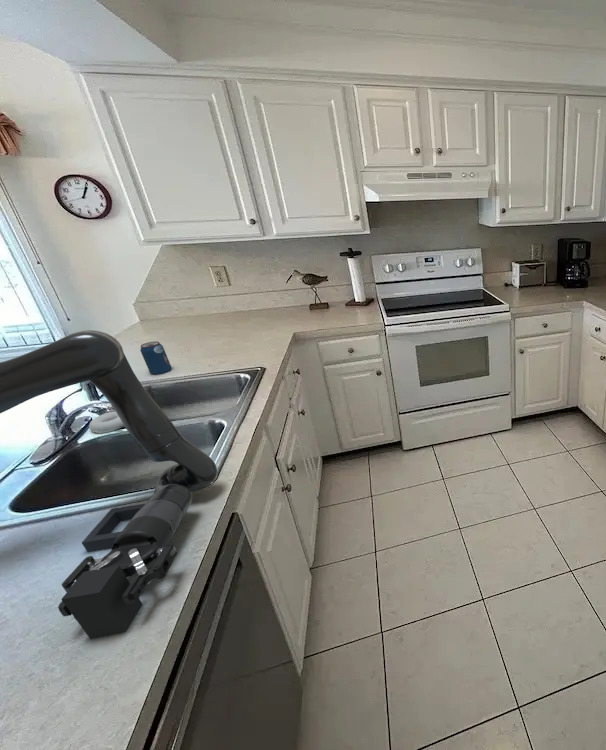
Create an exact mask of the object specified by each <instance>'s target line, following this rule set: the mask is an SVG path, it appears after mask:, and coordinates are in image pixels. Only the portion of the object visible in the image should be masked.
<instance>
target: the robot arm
mask: <svg viewBox="0 0 606 750" xmlns="http://www.w3.org/2000/svg"><path fill="white" fill-rule="evenodd" d="M85 382H90V384H92V385H93V386H94V387H95V388H96V389H97V390H98V391H99V392H100V393H101V394H102V395H103V397H104V398H106V400H107V401H108V403H109V404H110V405H111V406H112V408H113V410H114V411H116V413H117V414H118V416H119V418H120V419H121V421H122V423H123V424H124V428H125V429H126V431H127V432H128V434H129V435H130V436H131V438H132V439H133V441H134V442H135V443H136V444H137V445H138V447H139V448H140V449H141V450H142V451H143V453H145V455H146V456H147V457H148V458H149V460H151V461H152V462H154V463H162V462H175V464H174V465H171V466H169V467H167V468H166V469H165V470H164V471H162V473H161V474H160V475H159V477H158V479H157V482H156V485H155V486H154V487H155V488H154V490H153V494H151V496H150V497H149V498H148V500H147V501H146V504H145V503H144V504H145V505H144V506H143V507H142V508H141V509H140V510H139V511H138V512H137V513H136V514H135V516H134V517H133V518H132V519H131V520H129V522H128V523H127V525H126V526H125V527H124V528H123V530H122V532H121V531H120V532H121V533H120V534H119V536H118V537H117V538H116V539H115V541H114V544H113V547H112V548H111V549H110V551H109V552H108V553H107V554H106V555H104V556H102V557H101V558H94V556H93V555H89V556H86V557H85V558H83V560H82V561H80V563H79V564H78V565H77V566H76V567H75V569H74V570H73V571H72V572H71V573H70V574H69V575H68V576H67V577H66V579H64V581H63V582H62V583H61V587H62V588H63V590H64V591H65V592H66V593H67V592H68V590H69V589H70V588H71V587H72V585H73V584H74V583H75V582H76V581H77V579H78V578H79V577H80V576H81V574H82V573H83V572H84V571H90V570H96V569H102V568H107V567H113V566H120V568H121V569H122V571H123V573H124V574H125V576H126V578H129V577H133V575H136V574H137V576H134V577H133V578H132V580H131V581H130V582H129V583H130V584H129V586H128V587H127V589H126V590H125V592H124V593H123V595H122V599H123V601H124V602H125V604H126V605H128V604H132V603H133V602H134V601H135V600H136V599H137V598H138V597H139V598H140V597H141V595H142V593H143V592H144V590H145V589H146V587H147V585H149V584H151V583H152V581H153V580H156V579H157V580H162V579H164V578H165V577H166V576H167V574H168V572H169V571H170V569H171V566H172V564H173V563H174V561H175V559H176V557H177V555H178V552H177V548H176V547H175V545H174V544H173V542H171V539H172V538H173V536H174V534H175V533H176V531H177V529H178V528H179V526H180V523H181V521H182V519H183V518H184V517H185V515H186V513H187V512H188V510H189V508H190V507H191V505H192V502H193V499H194V495H193V491H196V490H199V489H202V488H204V487H207V486H210V485H211V484H212V483H213V482H214V481H216V479H217V477H218V466H217V464H216V463H215V461H214V460H213V458H212V457H211V456H209V454H207V453H205V452H204V451H202V450H201V449H200V448H198V447H197V446H196V445H194V444H193V443H191V442H190V441H188V440H187V439H186V438H185V437H184V436H183V435H182V434H181V432H180V431H179V429H178V428H177V427H176V425H175V424H174V423H173V421H171V419H170V418H169V417H168V416H167V415H166V413H165V412H164V411H163V409H162V408H161V407H160V406H159V405H158V404H157V403H156V401H155V400H154V399H153V397H151V395H150V394H149V393H148V391H147V390H146V389H145V387H144V386H143V384H142V383H141V382H140V380H139V378H138V377H137V376H136V374H135V372H134V370H133V368H132V366H131V365H130V362H129V360H128V359H127V356H126V355H125V352H124V349H123V346H122V345H121V342H119V340H118V339H117V338H116V337H114V336H112V335H111V334H109V333H107V332H103V331H100V330H91V329H90V330H89V329H85V330H80V331H75V332H72V333H69V334H68V335H65V336H63V337H62V338H59V339H57V340H55V341H53V342H50V343H48V344H45V345H44V346H42V347H39V348H37V349H34V350H32V351H29V352H27V353H23V354H21V355H19V356H16V357H14V358H13V357H12V358H10V359H6V360H4V361H0V414H2V413H4V412H6V411H9V410H11V409H14V408H15V407H17V406H19V405H22V404H23V403H25V402H27V401H29V400H32V399H34V398H35V397H39V396H41V395H44V394H46V393H51V392H53V391H57V390H61V389H63V388H67V387H69V386H74V385H77V384H81V383H85ZM153 562H154V563H153ZM150 564H153V566H152V567H151V568H149V569H148V566H149V565H150ZM57 608H58V611H59V613H60V614H61V615H62V617H69V616H73V615H72V613H71V612H70V611H69V609H68V608H67V607H66V605H65V604H64V602H63V601H62V600H61V602H59V604H58V606H57Z"/></svg>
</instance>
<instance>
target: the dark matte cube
mask: <svg viewBox="0 0 606 750" xmlns="http://www.w3.org/2000/svg"><path fill="white" fill-rule="evenodd" d="M74 582H75V583H74V584H73V585H72V587H71V588H70V589H69V590H68V592H66V593H65V594H64V595H63V597H62V598H61V602H62V601H63V602H64V604H65V605H66V607H67V608H68V609H69V611H70V612H71V613H72V615H71V616H73V618H74V619H75V620H76V622H77V623H78V625H79V626H80V627H81V629H82V630H83V632H84V633H85V634H86V635H87V637H88V639H90V640H94V639H98V638H104V637H108V636H115V635H118V634H124V633H126V632H127V631H128V629H129V628H130V626H131V624H132V623H133V621H134V620H135V618H136V617H137V615H138V613H139V611H140V609H141V608H142V606H143V605H144V604H143V602H142V601H141V599H140V596H139V597H138V598H137V599H136V600H135V601H134V602H133V603H132V604H128V605H126V604H125V602H124V601H123V599H122V595H123V593H124V592H125V590H126V589H127V587H128V586H129V584H130V583H131V582H130V581H129V579H128V577H126V576H125V574H124V573H123V571H122V569H121V568H120V566H113V567H107V568H102V569H96V570H90V571H84V572H83V573H82V574H81V576H80V577H79V578H78V579H77V581H76V580H75V581H74Z"/></svg>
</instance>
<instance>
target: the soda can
mask: <svg viewBox="0 0 606 750" xmlns="http://www.w3.org/2000/svg"><path fill="white" fill-rule="evenodd" d="M140 353H141V355H142V358H143V360H144V363H145V365H146V367H147V370H148V372H149V373H150V375H152V376H153V375H154V376H160V375H165V374H167V373H169V372H170V371H171V370H172V365H171V363H170V360H169V358H168V355H167V352H166V350H165V347H164V345H163V344H161V342H160V341H158V340H157V341H156V340H155V341H149V342H145V343H142V344H141V345H140Z"/></svg>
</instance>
